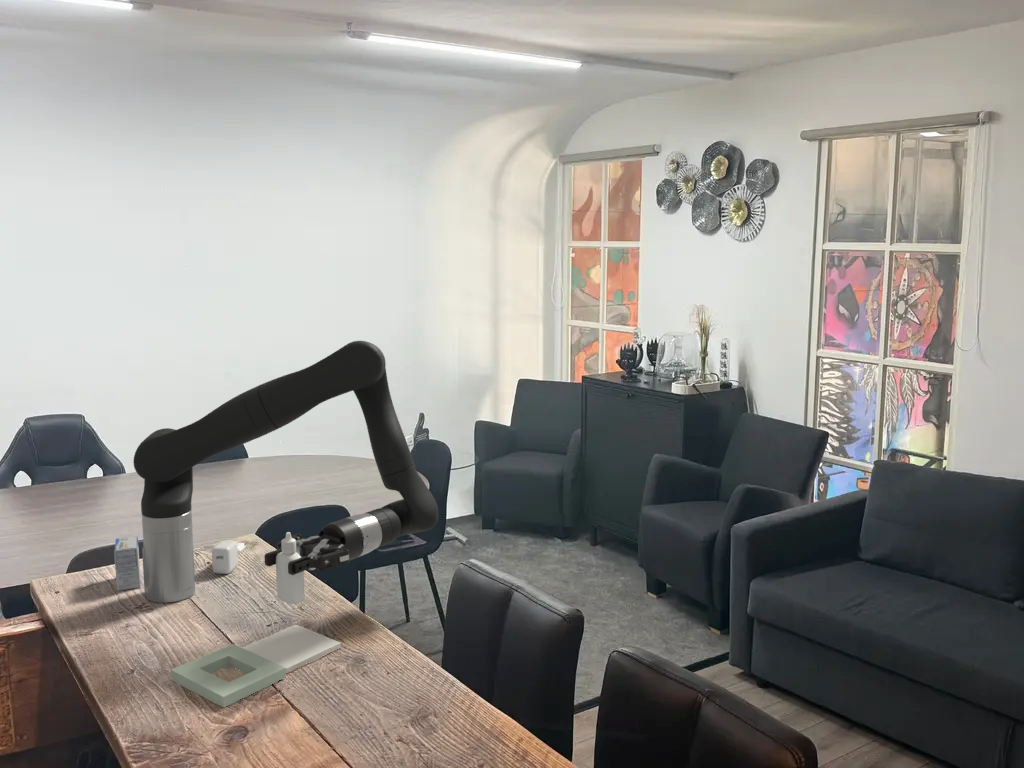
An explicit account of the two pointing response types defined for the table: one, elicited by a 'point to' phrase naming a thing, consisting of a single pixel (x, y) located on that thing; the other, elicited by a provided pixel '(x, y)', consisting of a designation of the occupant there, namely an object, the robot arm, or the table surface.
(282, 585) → the eye dropper bottle
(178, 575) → the robot arm
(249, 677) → the holder
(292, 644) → the tile
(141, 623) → the table surface
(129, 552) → the medicine box
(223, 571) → the power adapter
